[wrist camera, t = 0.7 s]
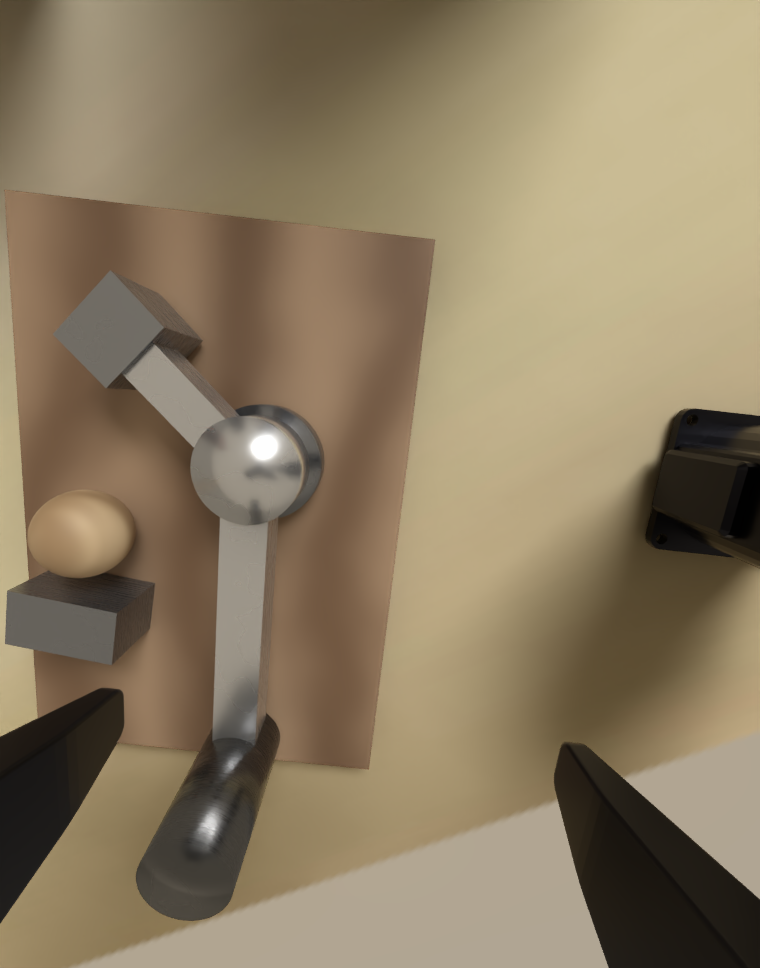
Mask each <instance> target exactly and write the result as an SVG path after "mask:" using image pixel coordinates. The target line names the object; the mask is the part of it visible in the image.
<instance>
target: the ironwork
mask: <svg viewBox="0 0 760 968" xmlns="http://www.w3.org/2000/svg"><path fill="white" fill-rule="evenodd" d="M235 411H236V412H237V413H238V415H239V416H249V415H265V416H270V417H273V418H276V419H279V420H281V421H283V422H284V423H286V424H287V425H289V426H290V427H291V428H292V429H293V430H294V431H295V432H296V433H297V434H298V435H299V437H300V438H301V439H302V441H303V443H304V445H305V447H306V450H307V453H308V457H309V476H308V480H307V483H306V485H305V488H304V489H303V491H302V493H301V494H300V495H299V496H298V498H297V499H296V500H295V501H294V502H293V503H292V504H291V505H290V506H289V507H288V508H287V510H285V511H284V512H283V513H282V514H281V515H279V518H281V517H284V516H287V515H289V514H291V513H293V512H295V511H296V510H298V509H299V508H301V507H302V506H303V505H304V504H305V503H306V502H307V501H308V500H309V498H310V497H311V496H312V495H313V493H314V492H315V491H316V489H317V487H318V486H319V484H320V481H321V479H322V476H323V471H324V451H323V447H322V444H321V441H320V439H319V437H318V435H317V433H316V431H315V430H314V429H313V427H312V426H311V425H310V424H309V423H308V421H307V420H306V419H304V418H303V417H302V416H301V415H299V414H298V413H296V412H294V411H292V410H290V409H288V408H285V407H282V406H278V405H269V404H258V405H249V406H244V407H241V408H238V409H236V410H235ZM154 590H155V583H152V582H148V581H143V580H138V579H133V578H128V577H124V576H119V575H114V574H109V573H102V574H99V575H96V576H92V577H85V578H70V577H64V576H60V575H57V574H55V573H52V572H50V571H49V570H48V571H46V572H44V573H42V574H40V575H38V576H36V577H34V578H32V579H30V580H28V581H26V582H24V583H22V584H20V585H18V586H16V587H14V588H12V589H10V590H8V591H7V610H6V635H5V644H9V645H14V646H19V647H23V648H28V649H33V650H38V651H43V652H48V653H53V654H58V655H63V656H68V657H73V658H78V659H83V660H88V661H93V662H98V663H103V664H108V665H112V664H114V663H115V662H116V661H117V660H118V659H119V658H120V657H121V656H122V655H123V654H124V653H125V652H126V651H127V650H128V649H129V648H130V647H131V646H132V645H133V644H134V643H135V642H136V641H138V640H139V639H140V638H141V637H142V636H143V635H144V634H145V633H146V632H147V631H148V630H149V629H150V625H151V616H152V608H153V599H154Z"/></svg>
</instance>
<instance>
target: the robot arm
mask: <svg viewBox="0 0 760 968" xmlns="http://www.w3.org/2000/svg"><path fill="white" fill-rule="evenodd" d="M688 416H691V417H692V421H691V423H690V424H689V425H688V424H687V418H688ZM652 505H653V508H652V512H651V516H650V520H649V524H648V528H647V532H646V541H647V543H648V544H649V545H651V546H653V547H655V548H657V549H663V550H672V551H681V552H690V553H699V554H708V555H717V556H726V557H735V558H738V559H740V560H742V561H744V562H747V563H749V564H751V565H753V566H756V567H758V568H760V416H755V415H746V414H738V413H729V412H720V411H711V410H702V409H683V410H681V411H680V412H679V413H678V414H677V415H676V417H675V420H674V424H673V428H672V432H671V436H670V440H669V444H668V448H667V452H666V454H665V455H664V459H663V463H662V467H661V471H660V475H659V479H658V483H657V487H656V491H655V495H654V499H653V503H652ZM659 534H662V537H661V539H660V540H658V541H656V538H657V536H658V535H659ZM123 729H124V694H123V692H122V690H120V689H114V688H99V689H97V690H94V691H92V692H90V693H88V694H86V695H84V696H82V697H80V698H78V699H76V700H74V701H72V702H70V703H68V704H66V705H64V706H62V707H60V708H58V709H56V710H54V711H52V712H50V713H48V714H46V715H43V716H41V717H39V718H37V719H35V720H33V721H31V722H29V723H27V724H25V725H23V726H21V727H19V728H17V729H15V730H13V731H11V732H9V733H7V734H5V735H3V736H1V737H0V923H1V922H2V920H3V919H4V917H5V916H6V915H7V913H8V912H9V910H10V909H11V907H12V906H13V904H14V903H15V902H16V900H17V899H18V897H19V896H20V894H21V893H22V891H23V890H24V889H25V887H26V886H27V884H28V883H29V881H30V880H31V879H32V877H33V876H34V874H35V873H36V871H37V870H38V868H39V867H40V866H41V864H42V863H43V861H44V860H45V858H46V857H47V855H48V854H49V853H50V851H51V850H52V848H53V847H54V845H55V844H56V842H57V841H58V840H59V838H60V837H61V835H62V834H63V832H64V831H65V829H66V828H67V826H68V825H69V823H70V822H71V820H72V819H73V817H74V815H75V814H76V812H77V810H78V809H79V807H80V806H81V804H82V802H83V800H84V799H85V797H86V795H87V794H88V792H89V790H90V788H91V787H92V785H93V783H94V781H95V780H96V778H97V776H98V775H99V773H100V771H101V769H102V768H103V766H104V764H105V763H106V761H107V759H108V757H109V756H110V754H111V752H112V751H113V749H114V747H115V745H116V744H117V742H118V740H119V738H120V737H121V734H122V732H123ZM554 786H555V791H556V795H557V799H558V803H559V807H560V810H561V814H562V818H563V822H564V826H565V830H566V834H567V838H568V841H569V845H570V849H571V853H572V857H573V861H574V865H575V868H576V872H577V875H578V879H579V883H580V886H581V889H582V892H583V895H584V898H585V901H586V904H587V907H588V910H589V912H590V915H591V918H592V921H593V924H594V927H595V930H596V933H597V935H598V938H599V941H600V944H601V947H602V950H603V953H604V955H605V958H606V961H607V964H608V967H609V968H760V899H759V898H758V897H756V896H755V895H754V894H753V893H752V892H751V891H750V890H749V889H747V888H746V887H745V886H744V885H743V884H742V883H741V882H739V881H738V880H737V879H736V878H735V877H734V876H733V875H732V874H730V873H729V872H728V871H727V870H726V869H725V868H724V867H723V866H721V865H720V864H719V863H718V862H717V861H716V860H715V859H713V858H712V857H711V856H710V855H709V854H708V853H707V852H706V851H705V850H703V849H702V848H701V847H700V846H699V845H698V844H697V843H695V842H694V841H693V840H692V839H691V838H690V837H689V836H688V835H686V834H685V833H684V832H683V831H682V830H681V829H679V827H677V826H676V825H675V824H674V823H673V822H672V821H671V820H669V819H668V818H667V817H666V816H665V815H664V814H663V813H662V812H661V811H659V810H658V809H657V808H656V807H655V806H654V805H653V804H651V803H650V802H649V801H648V800H647V799H646V798H645V797H644V796H642V795H641V794H640V793H639V792H638V791H637V790H635V789H634V788H633V787H632V786H631V785H630V784H629V783H628V782H626V780H624V779H623V778H622V777H621V776H620V775H619V774H618V773H617V772H615V771H614V770H613V769H612V768H611V767H610V766H609V765H607V764H606V763H605V762H604V761H603V760H602V759H601V758H600V757H598V756H597V755H596V754H595V753H594V752H593V751H592V750H591V749H589V748H588V747H587V746H586V745H584V744H581V743H572V742H564V743H563V744H562V745H561V748H560V751H559V756H558V760H557V764H556V769H555V773H554Z"/></svg>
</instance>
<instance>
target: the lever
mask: <svg viewBox="0 0 760 968" xmlns="http://www.w3.org/2000/svg"><path fill="white" fill-rule="evenodd" d="M53 335H54V336H55V337H56V338H57V339H58V340H59V341H60V342H61V343H62V344H63V345H64V346H65V347H66V348H67V349H68V350H69V351H70V352H71V353H72V354H73V355H74V356H75V357H76V358H77V359H78V360H79V361H80V362H81V363H82V364H83V365H84V366H85V368H86V369H87V370H88V371H89V372H90V373H91V374H92V375H93V376H94V377H95V378H96V379H97V380H98V381H99V382H100V383H101V384H102V385H103V386H104V387H105V388H110V389H130V390H138V391H139V392H140V393H141V394H142V395H143V396H144V397H145V398H146V399H147V400H148V401H149V402H150V403H151V404H152V405H153V406H154V407H155V408H156V409H157V410H158V411H159V412H160V413H161V414H162V415H163V417H164V418H165V419H166V420H167V421H168V422H169V423H170V424H171V425H172V426H173V427H174V428H175V429H176V430H177V431H178V432H179V433H180V434H181V435H182V436H183V437H184V438H185V439H186V440H187V441H188V442H189V443H190V444H191V445H192V446H193V447H194V450H193V452H192V457H191V465H190V468H191V477H192V482H193V485H194V488H195V490H196V492H197V494H198V496H199V497H200V499H201V500H202V502H203V503H204V504H205V505H206V506H207V507H208V508H209V509H210V510H211V511H212V512H213V513H215V514H216V515H217V516H219V517H220V533H219V562H218V591H217V620H216V648H215V677H214V706H213V727H212V729H211V731H210V733H209V735H208V736H207V738H206V740H205V742H204V744H203V746H202V748H201V750H200V751H199V753H198V755H197V757H196V759H195V761H194V763H193V765H192V766H191V768H190V770H189V772H188V774H187V776H186V778H185V779H184V781H183V783H182V785H181V787H180V789H179V791H178V793H177V794H176V796H175V798H174V800H173V802H172V804H171V806H170V808H169V809H168V811H167V813H166V815H165V817H164V819H163V821H162V822H161V824H160V826H159V828H158V830H157V832H156V834H155V836H154V837H153V839H152V841H151V843H150V845H149V847H148V849H147V851H146V852H145V854H144V856H143V858H142V860H141V862H140V864H139V866H138V868H137V872H136V883H137V887H138V890H139V892H140V894H141V896H142V897H143V899H144V900H145V901H146V902H147V903H148V904H149V905H150V906H151V907H152V908H153V909H155V910H156V911H158V912H159V913H161V914H163V915H165V916H168V917H171V918H174V919H178V920H187V921H194V920H202V919H206V918H209V917H212V916H214V915H216V914H218V913H219V912H220V911H222V910H223V909H224V908H225V907H226V906H227V904H228V903H229V902H230V900H231V898H232V894H233V891H234V888H235V885H236V882H237V878H238V875H239V872H240V869H241V866H242V862H243V859H244V856H245V853H246V850H247V846H248V843H249V840H250V837H251V834H252V830H253V827H254V824H255V821H256V818H257V814H258V811H259V808H260V805H261V802H262V798H263V795H264V792H265V789H266V786H267V782H268V779H269V776H270V773H271V770H272V766H273V763H274V760H275V757H276V754H277V750H278V747H279V744H280V731H279V728H278V726H277V724H276V723H275V721H274V720H273V719H272V718H271V717H270V716H269V715H268V714H267V713H266V706H267V691H268V675H269V660H270V644H271V628H272V613H273V597H274V582H275V566H276V550H277V535H278V519H279V515H281V514H282V513H283V512H284V511H285V510H287V508H288V507H289V506H290V505H291V504H292V503H293V502H294V501H295V500H296V499H297V498H298V496H299V495H300V494H301V493H302V491H303V489H304V488H305V485H306V483H307V480H308V476H309V457H308V453H307V450H306V447H305V445H304V443H303V441H302V439H301V438H300V437H299V435H298V434H297V433H296V432H295V431H294V430H293V429H292V428H291V427H290V426H289V425H287V424H286V423H284V422H283V421H281V420H279V419H276V418H273V417H270V416H265V415H249V416H239V415H238V413H237V412H236V411H235V410H234V409H233V408H232V407H231V406H230V405H229V404H228V403H227V402H226V401H225V400H224V399H223V397H222V396H221V395H220V394H219V393H218V392H217V391H216V390H215V389H214V388H213V387H212V386H211V385H210V384H209V383H208V382H207V380H206V379H205V378H204V377H203V376H202V375H201V374H200V373H199V372H198V371H197V370H196V369H195V368H194V367H193V366H192V365H191V363H190V362H189V361H188V360H187V359H186V358H187V357H188V356H189V355H190V354H191V353H192V352H193V351H194V350H195V348H196V347H197V346H198V345H199V344H200V343H201V342H202V341H203V340H202V339H201V338H200V337H199V336H198V335H197V334H196V333H195V331H194V330H193V329H192V328H191V327H190V326H189V325H188V324H187V323H186V322H185V321H184V320H183V318H182V317H181V316H180V315H179V314H178V313H177V312H176V311H175V310H174V309H173V308H172V307H171V305H170V304H169V303H168V302H167V301H166V300H165V299H164V298H163V297H162V296H161V295H160V294H159V293H157V292H155V291H153V290H151V289H148V288H146V287H144V286H142V285H140V284H138V283H136V282H134V281H132V280H130V279H128V278H125V277H123V276H121V275H119V274H117V273H115V272H113V271H111V270H110V271H109V272H108V273H107V274H106V276H105V277H104V278H103V279H102V280H101V281H100V282H99V283H98V284H97V286H96V287H95V288H94V289H93V290H92V291H91V292H90V293H89V294H88V295H87V297H86V298H85V299H84V300H83V301H82V302H81V303H80V304H79V305H78V307H77V308H76V309H75V310H74V311H73V312H72V313H71V314H70V315H69V317H68V318H67V319H66V320H65V321H64V322H63V323H62V324H61V325H60V326H59V328H58V329H57V330H56V331H55V332H54V333H53Z"/></svg>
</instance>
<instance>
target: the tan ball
mask: <svg viewBox="0 0 760 968" xmlns="http://www.w3.org/2000/svg"><path fill="white" fill-rule="evenodd" d="M135 536H136V526H135V521H134V518H133V516H132V514H131V512H130V510H129V509H128V508H127V507H126V505H124V504H123V503H122V502H121V501H120V500H119V499H117V498H116V497H114V496H112V495H109V494H107V493H104V492H101V491H95V490H75V491H70V492H66V493H63V494H61V495H58V496H56V497H54V498H52V499H51V500H49V501H48V502H46V503H45V504H44V505H43V506H42V507H41V508H40V509H39V510H38V511H37V512H36V514H35V515H34V516H33V518H32V520H31V522H30V525H29V528H28V545H29V549H30V551H31V553H32V555H33V557H34V558H35V560H36V561H37V562H38V563H39V564H40V565H41V566H42V567H44V568H45V569H47V570H49V571H50V572H52V573H55V574H57V575H60V576H64V577H70V578H85V577H92V576H96V575H99V574H102V573H104V572H106V571H108V570H110V569H112V568H114V567H115V566H116V565H118V564H119V563H120V562H121V561H122V560H123V559H124V558H125V557H126V556H127V555H128V553H129V552H130V550H131V548H132V546H133V544H134V540H135Z"/></svg>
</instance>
